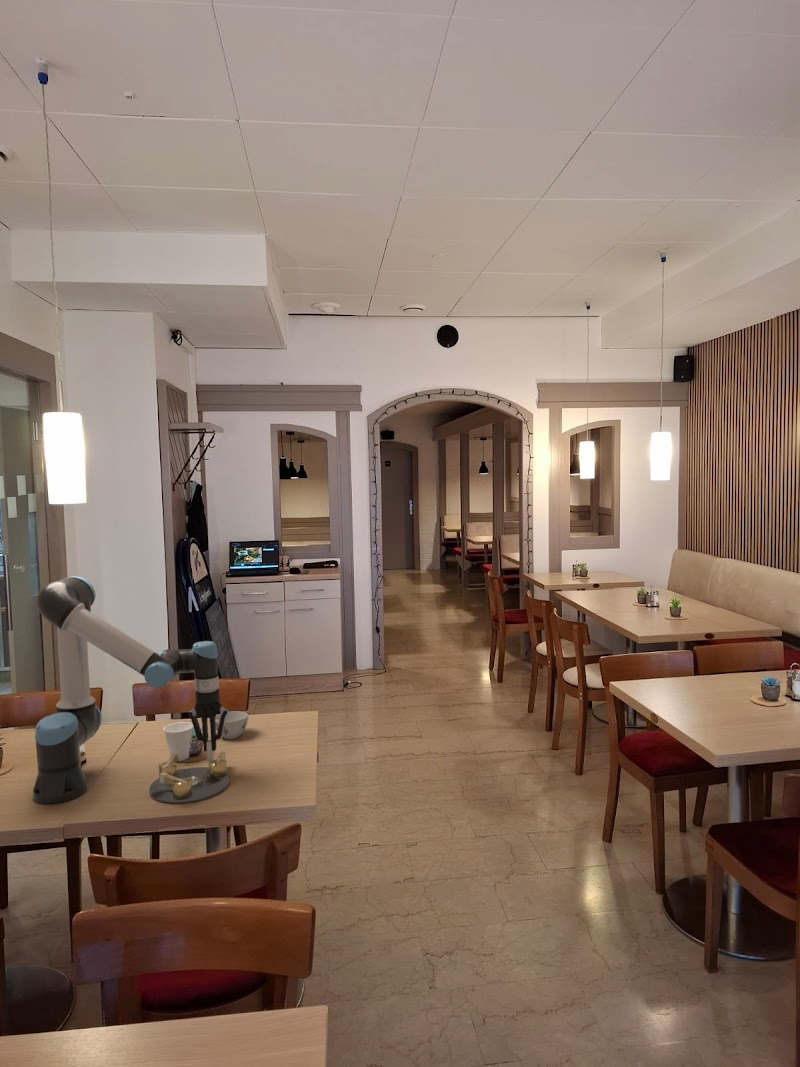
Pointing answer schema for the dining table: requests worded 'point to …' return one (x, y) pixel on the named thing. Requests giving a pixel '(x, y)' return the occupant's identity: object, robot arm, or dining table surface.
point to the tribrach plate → (200, 786)
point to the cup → (179, 738)
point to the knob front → (177, 785)
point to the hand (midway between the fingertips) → (210, 760)
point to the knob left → (170, 765)
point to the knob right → (218, 766)
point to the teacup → (232, 724)
